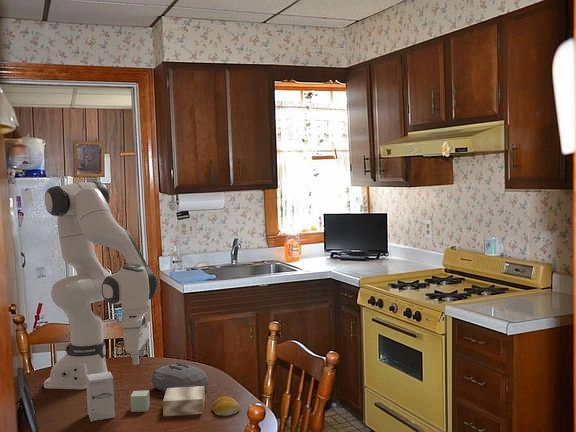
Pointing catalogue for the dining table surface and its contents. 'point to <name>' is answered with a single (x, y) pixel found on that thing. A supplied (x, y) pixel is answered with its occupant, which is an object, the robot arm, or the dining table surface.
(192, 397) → the wooden block
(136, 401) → the sage cube
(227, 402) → the bread roll
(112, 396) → the supplement box
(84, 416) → the dining table surface
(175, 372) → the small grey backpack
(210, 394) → the dining table surface
